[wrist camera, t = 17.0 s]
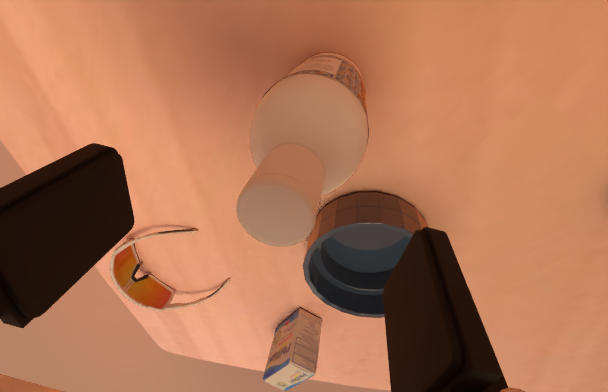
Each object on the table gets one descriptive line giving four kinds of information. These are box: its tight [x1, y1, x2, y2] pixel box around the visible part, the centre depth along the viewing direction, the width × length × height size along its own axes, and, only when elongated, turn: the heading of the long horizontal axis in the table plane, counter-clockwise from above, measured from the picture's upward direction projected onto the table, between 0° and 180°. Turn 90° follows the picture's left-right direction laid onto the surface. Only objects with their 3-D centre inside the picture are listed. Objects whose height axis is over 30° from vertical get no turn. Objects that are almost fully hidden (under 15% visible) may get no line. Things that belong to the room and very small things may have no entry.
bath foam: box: [237, 53, 369, 247], centre depth 18 cm, size 7×7×20 cm
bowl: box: [303, 192, 428, 318], centre depth 33 cm, size 14×14×6 cm
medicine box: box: [263, 308, 322, 391], centre depth 43 cm, size 8×4×9 cm, turn 146°
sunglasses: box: [110, 229, 230, 311], centre depth 42 cm, size 14×15×5 cm
